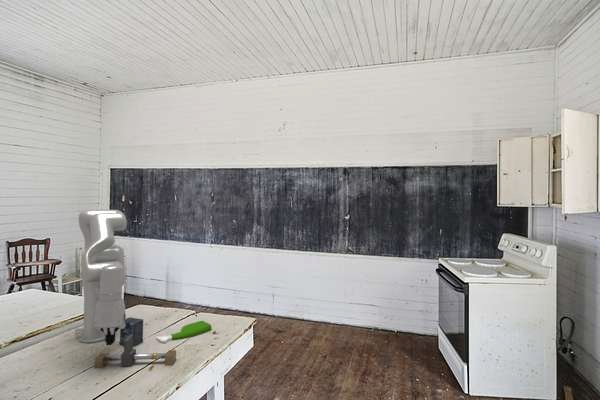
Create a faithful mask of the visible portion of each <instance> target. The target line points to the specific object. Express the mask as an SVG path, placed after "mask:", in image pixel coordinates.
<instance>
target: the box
mask: <svg viewBox="0 0 600 400" xmlns="http://www.w3.org/2000/svg"><path fill="white" fill-rule="evenodd" d="M125 325H126V326H125V328H123V329H119V344H120V345H123V346H124V341H125V340H126V338H127V337H128V336H129V335H131V334H133V348H134V347H136V346H138V345H140V344H142V343H143V340H144V319H142V318H136V317H126V321H125Z"/></svg>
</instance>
